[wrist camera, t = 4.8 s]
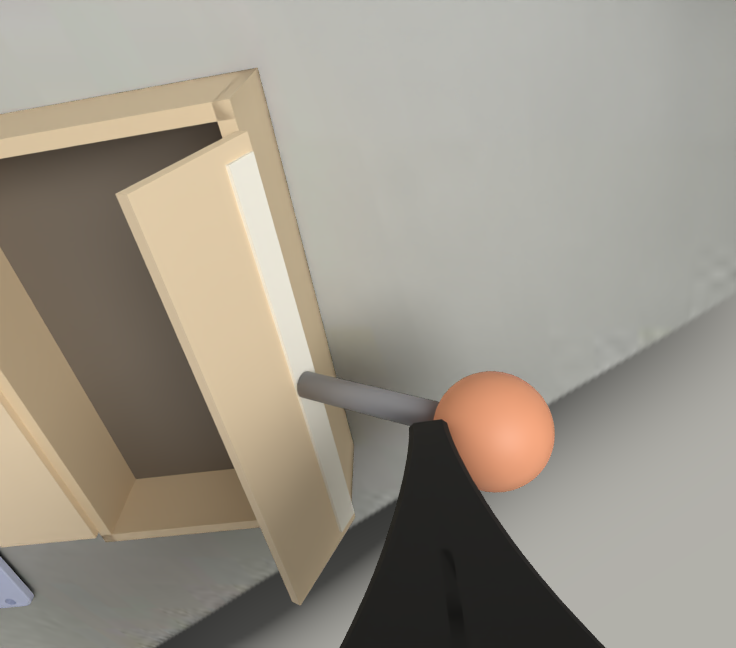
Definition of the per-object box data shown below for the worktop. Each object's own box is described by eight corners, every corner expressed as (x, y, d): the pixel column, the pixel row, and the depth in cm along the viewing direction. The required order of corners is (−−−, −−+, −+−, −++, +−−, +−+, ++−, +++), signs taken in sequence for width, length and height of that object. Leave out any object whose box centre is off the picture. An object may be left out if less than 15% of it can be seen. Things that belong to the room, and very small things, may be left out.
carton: (56, 478, 24) (10, 557, 21) (-177, 145, 16) (-305, 194, 13) (354, 445, 22) (350, 524, 19) (257, 67, 15) (227, 101, 12)
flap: (292, 601, 17) (520, 710, 14) (115, 194, 10) (502, 218, 7) (357, 499, 20) (560, 569, 16) (255, 121, 12) (579, 113, 9)
